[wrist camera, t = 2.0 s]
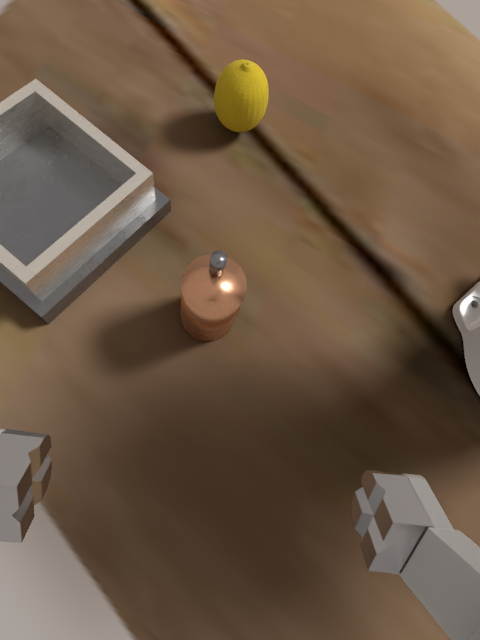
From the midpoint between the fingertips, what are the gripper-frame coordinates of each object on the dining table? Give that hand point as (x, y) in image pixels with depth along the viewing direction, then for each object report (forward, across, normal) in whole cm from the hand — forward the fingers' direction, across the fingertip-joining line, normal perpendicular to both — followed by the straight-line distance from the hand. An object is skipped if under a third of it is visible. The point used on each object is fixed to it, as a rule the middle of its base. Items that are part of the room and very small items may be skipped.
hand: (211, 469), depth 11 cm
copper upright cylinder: (+27, 0, +9) cm, 28 cm away
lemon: (+43, 0, -7) cm, 43 cm away
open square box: (+33, +16, +3) cm, 36 cm away
